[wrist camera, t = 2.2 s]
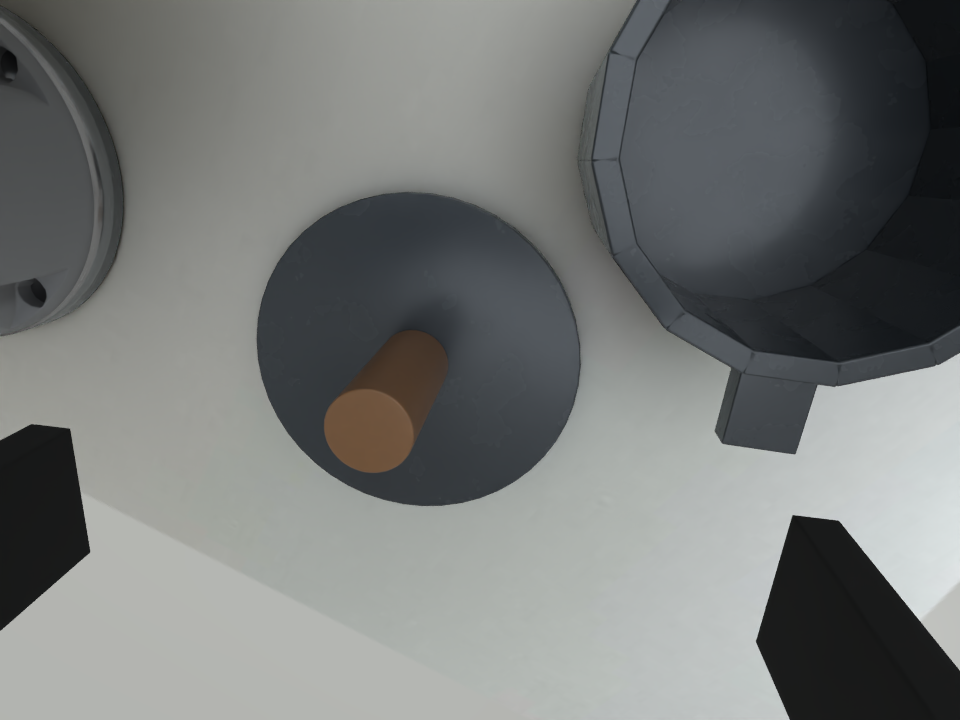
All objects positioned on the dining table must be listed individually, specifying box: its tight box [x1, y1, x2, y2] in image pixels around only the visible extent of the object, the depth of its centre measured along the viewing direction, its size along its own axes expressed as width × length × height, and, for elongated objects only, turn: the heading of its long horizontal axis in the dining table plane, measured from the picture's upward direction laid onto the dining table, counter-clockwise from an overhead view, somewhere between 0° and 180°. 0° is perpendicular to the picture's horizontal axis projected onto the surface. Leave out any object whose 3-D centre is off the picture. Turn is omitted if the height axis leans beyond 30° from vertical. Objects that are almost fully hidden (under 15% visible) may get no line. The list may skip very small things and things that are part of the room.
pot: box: [578, 0, 960, 454], centre depth 20 cm, size 14×19×9 cm
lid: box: [257, 192, 581, 506], centre depth 25 cm, size 15×15×9 cm
